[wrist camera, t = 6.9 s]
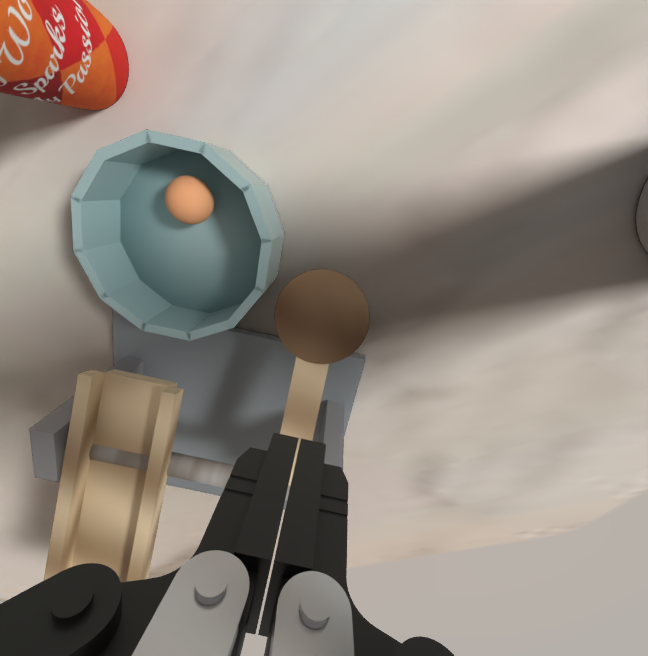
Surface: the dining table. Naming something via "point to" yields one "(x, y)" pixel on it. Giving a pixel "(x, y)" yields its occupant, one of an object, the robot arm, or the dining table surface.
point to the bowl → (174, 236)
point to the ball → (189, 199)
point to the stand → (214, 396)
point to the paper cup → (61, 53)
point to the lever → (160, 427)
